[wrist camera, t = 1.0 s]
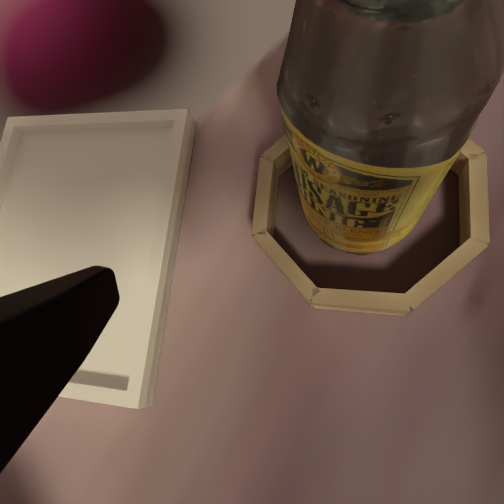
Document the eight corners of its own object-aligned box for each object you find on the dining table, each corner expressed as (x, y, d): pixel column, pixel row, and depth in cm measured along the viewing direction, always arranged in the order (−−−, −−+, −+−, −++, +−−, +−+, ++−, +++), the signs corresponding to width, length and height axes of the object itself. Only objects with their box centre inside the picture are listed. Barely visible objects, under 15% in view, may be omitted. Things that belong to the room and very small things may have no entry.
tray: (151, 405, 23) (137, 408, 21) (-44, 375, 26) (-68, 376, 24) (196, 122, 27) (187, 108, 25) (24, 129, 30) (7, 117, 29)
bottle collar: (479, 321, 20) (492, 317, 18) (252, 303, 23) (244, 298, 21) (472, 115, 23) (483, 93, 21) (272, 122, 26) (266, 103, 24)
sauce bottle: (283, 214, 24) (42, -329, 5) (354, 139, 24) (373, -649, 5) (371, 288, 21) (517, -206, 3) (449, 204, 22) (1062, -772, 3)
